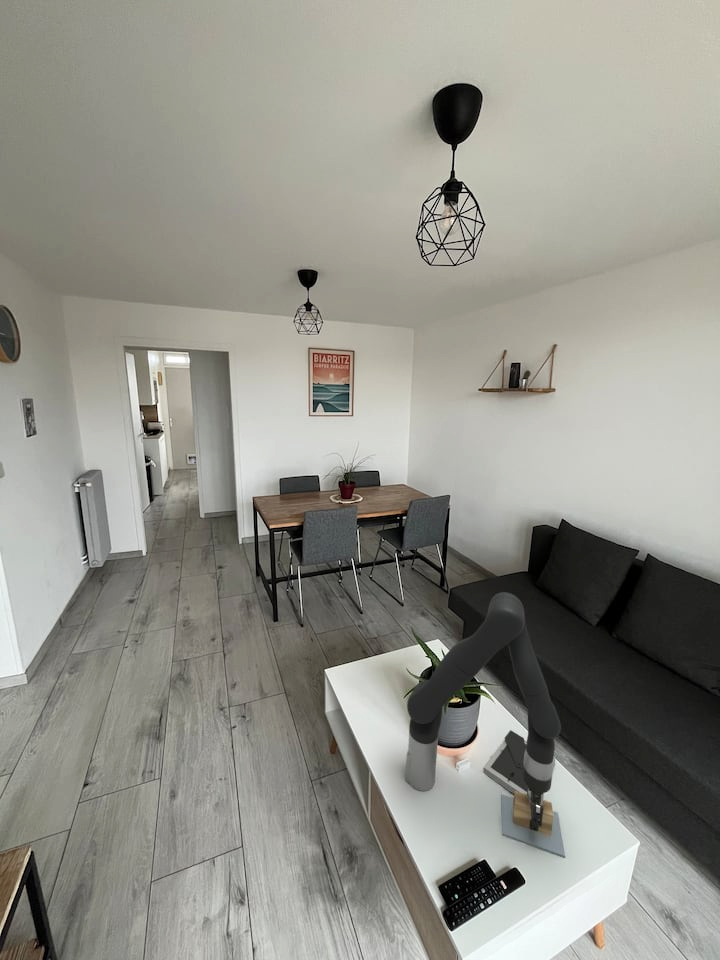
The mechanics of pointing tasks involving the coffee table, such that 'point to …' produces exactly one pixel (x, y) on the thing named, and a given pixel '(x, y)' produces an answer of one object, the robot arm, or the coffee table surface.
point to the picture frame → (509, 763)
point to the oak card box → (523, 813)
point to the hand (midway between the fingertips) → (531, 814)
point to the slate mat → (531, 831)
